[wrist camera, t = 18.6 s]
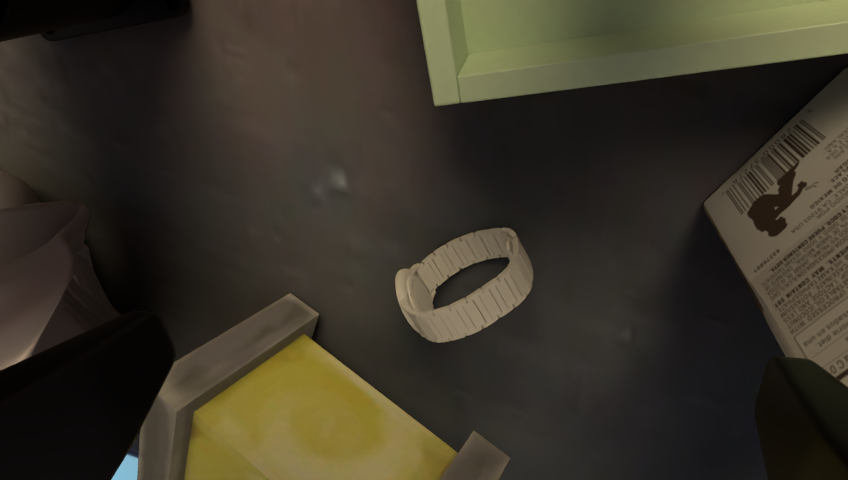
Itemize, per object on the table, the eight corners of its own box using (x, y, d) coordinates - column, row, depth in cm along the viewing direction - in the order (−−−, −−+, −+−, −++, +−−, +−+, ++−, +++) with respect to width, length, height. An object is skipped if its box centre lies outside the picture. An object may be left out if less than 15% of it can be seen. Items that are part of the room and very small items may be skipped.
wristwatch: (406, 242, 23) (376, 314, 19) (512, 198, 21) (506, 268, 17) (438, 292, 24) (416, 372, 20) (542, 255, 22) (543, 335, 18)
